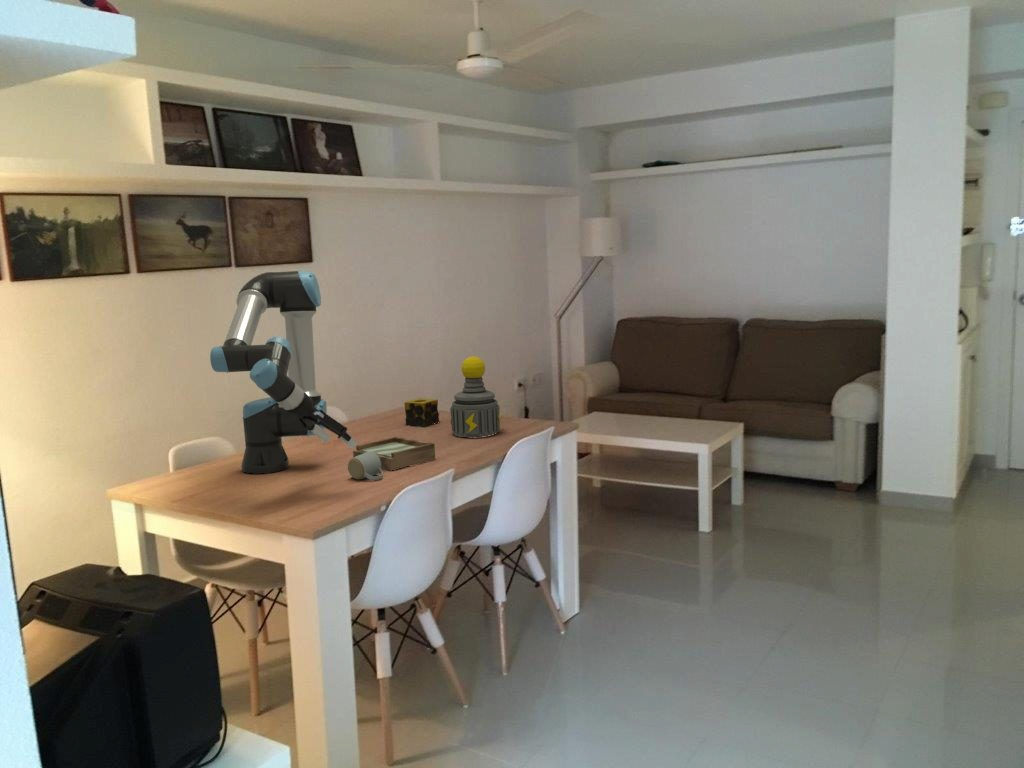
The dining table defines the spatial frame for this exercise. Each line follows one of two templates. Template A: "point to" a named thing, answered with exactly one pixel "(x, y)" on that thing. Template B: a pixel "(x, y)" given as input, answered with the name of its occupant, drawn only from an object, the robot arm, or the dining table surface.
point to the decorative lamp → (474, 404)
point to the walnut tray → (398, 452)
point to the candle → (421, 412)
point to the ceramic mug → (365, 466)
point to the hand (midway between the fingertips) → (341, 442)
